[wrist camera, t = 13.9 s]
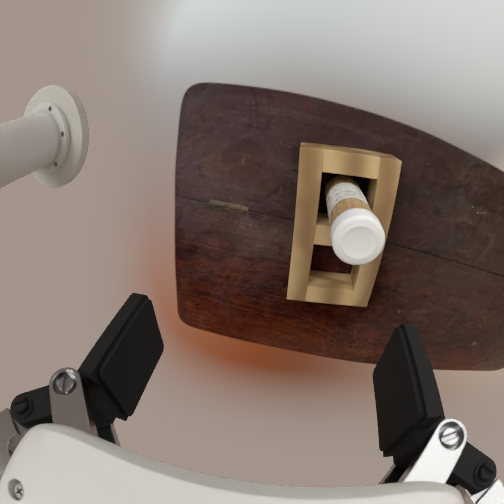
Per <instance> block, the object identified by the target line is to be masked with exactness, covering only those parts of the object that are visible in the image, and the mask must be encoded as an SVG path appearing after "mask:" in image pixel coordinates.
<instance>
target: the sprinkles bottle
mask: <svg viewBox="0 0 504 504" xmlns="http://www.w3.org/2000/svg"><path fill="white" fill-rule="evenodd" d="M325 198H326V203H327V210H328V216H329V222H330V226H331V231H330V237H331V243H332V247H333V250H334V252H335V254H336V255H337V257H338V258H339V259H341V260H342V261H344V262H345V263H348V264H352V265H362V264H366V263H369V262H371V261H372V260H374V259H375V258H376V257H377V256H378V255H379V254H380V253H381V251H382V249H383V247H384V243H385V234H384V230H383V228H382V226H381V224H380V222H379V220H378V218H377V217H376V216H375V215H374V214H373V213H372V210H371V209H370V207H369V205H368V202H367V200H366V198H365V197H364V195H363V193H362V191H361V190H360V188H359V186H358V184H357V183H356V181H355V180H353V179H352V178H351V177H349V176H341V175H340V176H336V177H334V178H332V179H331V180H330V181H329V182H328V183H327V185H326V187H325Z"/></svg>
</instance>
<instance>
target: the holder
mask: <svg viewBox="0 0 504 504" xmlns="http://www.w3.org/2000/svg"><path fill="white" fill-rule="evenodd" d="M401 163H402V161H400V160H399V159H397V158H396V157H394V156H393V155H391V154H385V153H380V152H374V151H368V150H362V149H355V148H348V147H341V146H333V145H324V144H315V143H305V142H301V144H300V155H299V171H298V185H297V198H296V210H295V222H294V233H293V244H292V254H291V264H290V273H289V282H288V291H287V299H290V300H299V301H308V302H318V303H328V304H338V305H350V306H361V307H367V304H368V301H369V298H370V295H371V292H372V288H373V285H374V282H375V279H376V275H377V272H378V268H379V265H380V261H381V258H382V254H383V250H384V247H383V249H382V251H381V253H380V254H379V255H378V256H377V257H376V258H375V259H374V260H372V261H371V262H369V263H366V264H362V265H353V266H352V271H351V275H350V274H343V273H334V272H324V271H315V270H310V266H311V259H312V252H313V245H314V244H317V245H326V246H332V243H331V237H330V231H331V226H330V222H329V216H328V214H327V213H318V205H319V196H320V187H321V177H322V172H326V173H335V174H343V175H350V176H357V177H364V178H369V184H368V190H367V196H366V200H367V202H368V205H369V207H370V209H371V210H372V213H373V214H374V215H375V216H376V217H377V218H378V220H379V222H380V224H381V226H382V228H383V230H384V234H385V242H386V238H387V234H388V230H389V226H390V222H391V217H392V212H393V208H394V203H395V198H396V193H397V187H398V182H399V176H400V170H401ZM384 246H385V243H384Z"/></svg>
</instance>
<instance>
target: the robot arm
mask: <svg viewBox="0 0 504 504" xmlns="http://www.w3.org/2000/svg"><path fill="white" fill-rule="evenodd" d="M69 140H70V136H69V127H68V123H67V119H66V117H65V115H64V113H63V111H62V110H61V108H60V107H59V106H58V105H56V104H54V103H52V102H46V103H42V104H39V105H38V106H36V107H35V108H34V110H33V111H32V112H31V114H30V115H28V116H25V117H21V118H17V119H14V120H11V121H7V122H4V123H1V124H0V188H2V187H4V186H6V185H8V184H9V183H11V182H13V181H15V180H17V179H19V178H21V177H24V176H25V175H28V174H30V173H32V172H34V171H36V170H38V171H39V172H41V173H43V174H50V173H53V172H55V171H57V170H58V169H60V168H61V166H62V165H63V164H64V162H65V160H66V157H67V154H68V149H69ZM163 348H164V345H163V341H162V337H161V334H160V330H159V327H158V323H157V320H156V316H155V312H154V308H153V305H152V301H151V300H149V299H148V297H147V296H146V295H142V294H137V293H132V294H131V295H130V297H129V298H128V299H127V301H126V302H125V303H124V305H123V306H122V307H121V309H120V310H119V311H118V313H117V314H116V316H115V317H114V318H113V320H112V321H111V322H110V324H109V325H108V326H107V328H106V330H105V331H104V332H103V334H102V335H101V336H100V338H99V339H98V341H97V342H96V344H95V345H94V347H93V348H92V350H91V351H90V352H89V354H88V355H87V357H86V359H85V360H84V362H83V363H82V364H81V366H80V368H79V369H78V371H76V370H75V369H73V368H62V369H60V370H58V371H56V372H55V373H54V374H53V376H52V377H51V379H50V382H49V385H48V386H45V387H41V388H38V389H36V390H32V391H29V392H25V393H22V394H20V395H18V396H16V397H15V398H14V400H13V401H12V404H11V409H10V410H9V409H8V408H6V409H5V410H3V411H2V412H0V504H504V485H503V483H502V482H501V480H500V479H499V478H498V479H496V478H495V477H496V465H495V463H494V461H493V460H491V459H490V458H489V457H488V456H486V455H485V454H483V453H482V452H481V451H479V450H478V449H476V448H475V447H473V446H472V445H471V444H469V443H468V442H467V431H466V428H465V426H464V425H463V423H461V422H460V421H459V420H456V419H454V418H448V419H445V416H444V411H443V407H442V403H441V399H440V395H439V391H438V387H437V383H436V380H435V377H434V373H433V369H432V366H431V363H430V361H429V359H428V358H427V356H426V353H425V350H424V347H423V344H422V341H421V338H420V335H419V332H418V329H417V327H416V325H415V324H401V325H400V326H399V327H398V328H395V330H394V332H393V334H392V336H391V338H390V340H389V342H388V344H387V346H386V348H385V350H384V352H383V354H382V356H381V358H380V360H379V362H378V363H377V365H376V367H375V369H374V372H373V384H374V392H375V400H376V410H377V421H378V434H379V448H380V450H381V451H383V456H384V457H389V456H393V458H394V459H393V460H394V464H393V466H392V467H391V468H390V470H389V471H388V472H387V474H386V475H385V476H384V478H383V479H382V480H381V481H380V482H379V484H378V485H367V486H351V487H350V486H348V487H299V486H284V485H273V484H263V483H255V482H248V481H241V480H235V479H230V478H224V477H219V476H215V475H210V474H205V473H201V472H197V471H193V470H189V469H185V468H181V467H178V466H175V465H171V464H168V463H165V462H162V461H159V460H156V459H153V458H150V457H147V456H144V455H141V454H138V453H136V452H133V451H130V450H128V449H125V448H123V447H121V446H120V443H119V440H118V437H117V434H116V431H115V428H114V425H113V422H114V420H115V418H116V417H117V418H119V419H122V420H124V421H126V420H127V418H128V416H131V415H132V414H133V413H134V411H135V409H136V406H137V404H138V402H139V400H140V398H141V396H142V394H143V392H144V389H145V387H146V385H147V383H148V381H149V379H150V377H151V375H152V373H153V371H154V369H155V367H156V364H157V363H158V361H159V359H160V357H161V355H162V352H163Z"/></svg>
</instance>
